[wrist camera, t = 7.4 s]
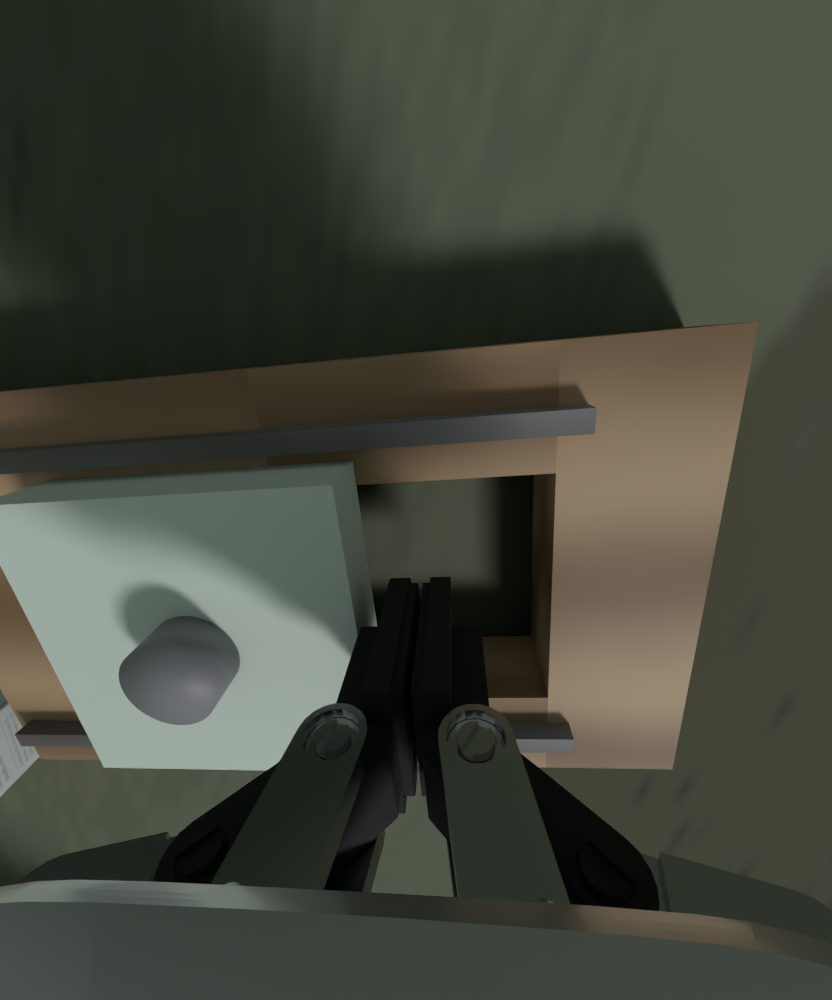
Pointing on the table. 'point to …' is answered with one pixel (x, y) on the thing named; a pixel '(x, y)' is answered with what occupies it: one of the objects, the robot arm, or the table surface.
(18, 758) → the skincare box
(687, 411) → the brown wooden sliding box
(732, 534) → the table surface
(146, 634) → the lid
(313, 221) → the table surface
